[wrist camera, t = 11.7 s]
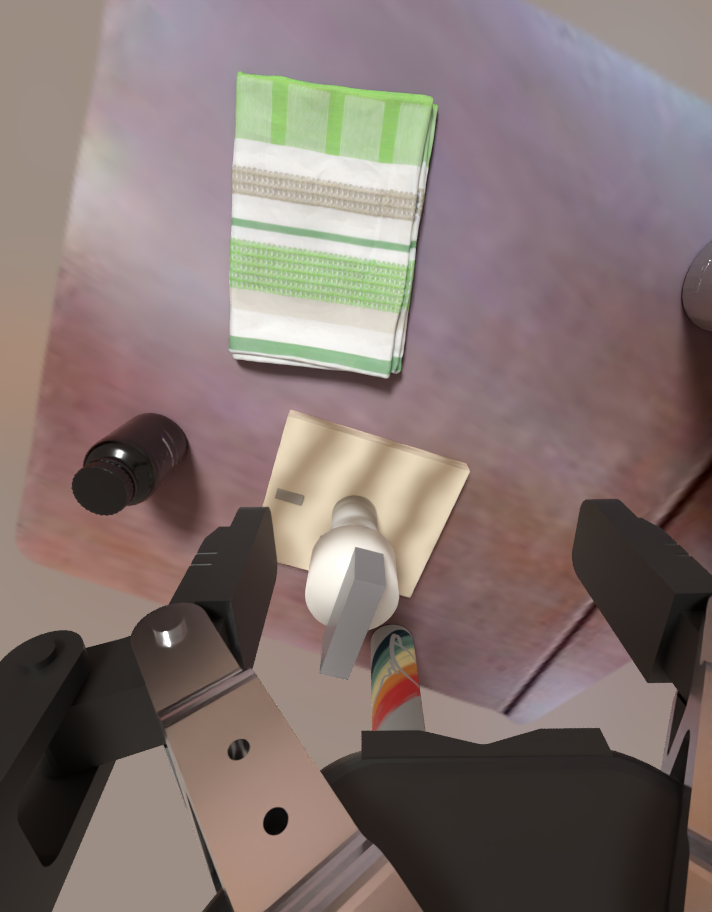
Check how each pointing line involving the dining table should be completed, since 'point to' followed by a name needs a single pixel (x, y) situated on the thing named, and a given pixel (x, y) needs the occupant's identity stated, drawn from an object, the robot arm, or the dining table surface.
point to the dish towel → (325, 222)
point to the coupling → (350, 592)
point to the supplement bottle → (129, 464)
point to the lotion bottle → (395, 681)
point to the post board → (359, 492)
